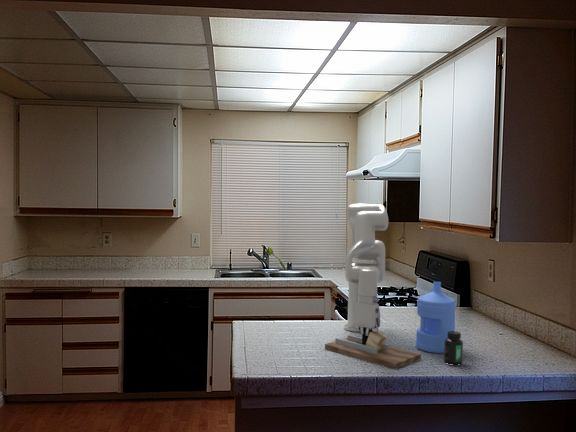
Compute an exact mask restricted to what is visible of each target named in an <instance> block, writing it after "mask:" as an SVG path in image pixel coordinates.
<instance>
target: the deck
mask: <svg viewBox="0 0 576 432" xmlns="http://www.w3.org/2000/svg"><path fill="white" fill-rule="evenodd" d="M342 339H343V340H347V339H348V337H346V338H342ZM347 341H351V340H347ZM351 342H354V341H351ZM355 343H358V342H355ZM358 344H362V343H358ZM324 350H327V351H329V352H330V351H332V352H335V353H337V354H342V355H345V356H348V357H351V356H352V358H355V359H359V360H363V361H365V360H366V362H369V363H372V362H373V363H372V364H376V363H377V364H376V365H379V364H380V366H383V365H384V366H383V367H386V366H387V368H390V367H391V368H390V369H393V368H394V369H393V370H397V369H399V368H398V367H400V368H402V367H404V366H403V365H405V366H407V365H410V364H412V363H415V362H418V361H420V360H421V359H422V354H421V353H417V352H414V351H410V350H406V349H402V348H398V347H394V346H390V345H389V350H385V349H383V350H380V351H377V354H374V353H370V352H366V351H363V350H359V349H355V348H352V347H348V346H344V345H341V344H337V343H336V340H335V341H331V342H327V343H325V344H324ZM419 359H420V360H419ZM417 360H418V361H417ZM414 361H415V362H414ZM411 362H412V363H411ZM409 363H410V364H409ZM406 364H407V365H406ZM401 366H402V367H401ZM396 368H397V369H396Z"/></svg>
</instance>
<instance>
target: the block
mask: <svg viewBox="0 0 576 432" xmlns="http://www.w3.org/2000/svg"><path fill="white" fill-rule="evenodd" d="M387 338H388V336H387V335H385V334H384V333H382V332H381V331H379V330H378V332H370V333H369V336H368V339H367V342H366V346H370V347H374V348H377V351H380V350H383V347H384V344H386V340H387Z"/></svg>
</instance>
